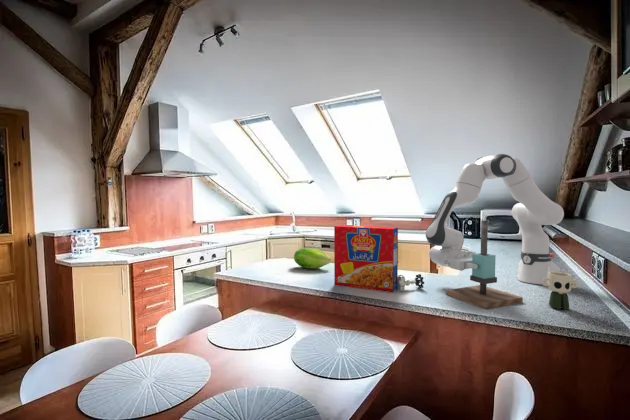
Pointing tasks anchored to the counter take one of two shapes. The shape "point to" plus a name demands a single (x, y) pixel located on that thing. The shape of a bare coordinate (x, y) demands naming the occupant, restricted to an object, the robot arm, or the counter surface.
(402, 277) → the valve
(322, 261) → the green papaya
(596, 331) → the counter surface
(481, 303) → the pipe stand
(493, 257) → the sleeve
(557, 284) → the character mug
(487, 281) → the rubber ring
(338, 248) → the pasta box
